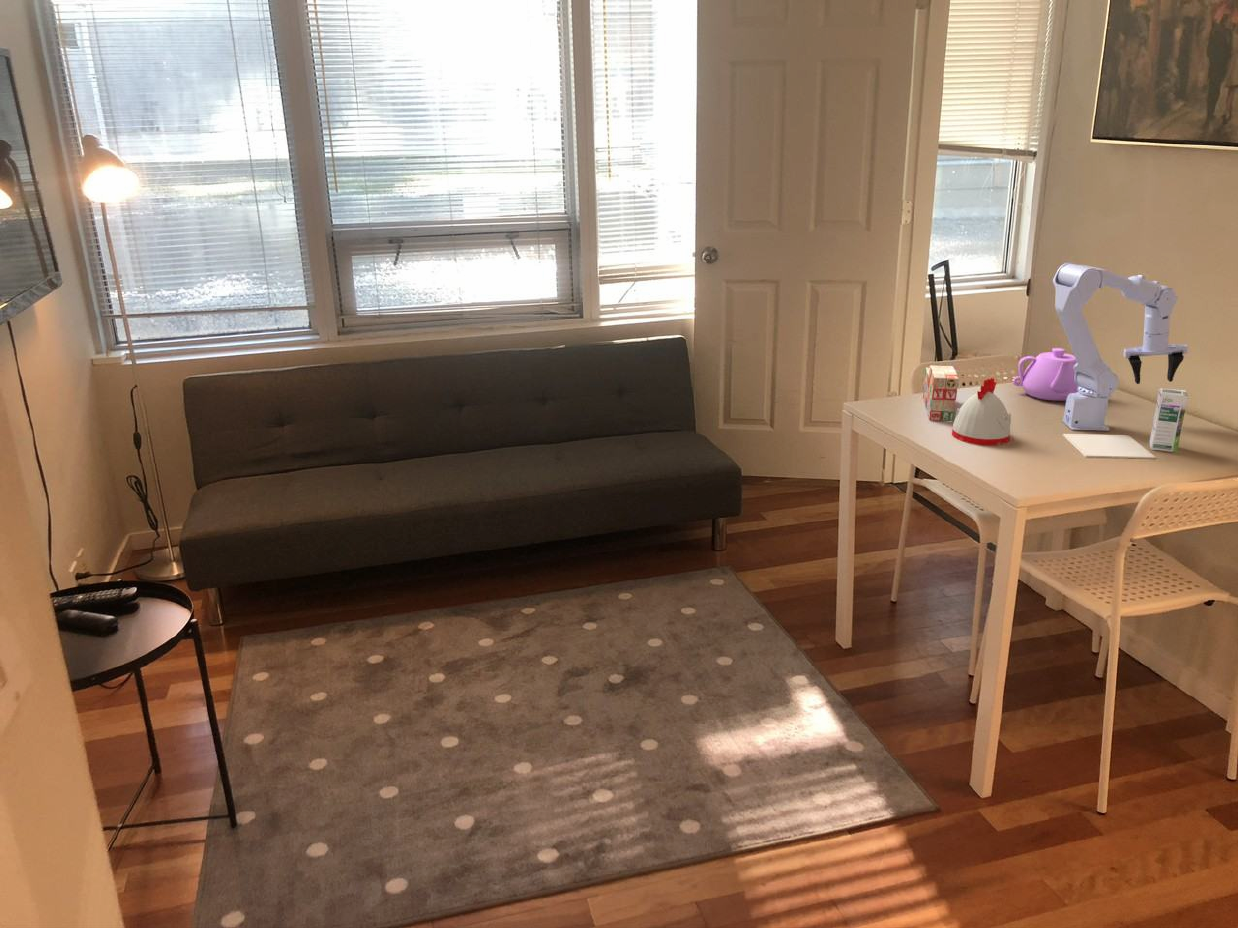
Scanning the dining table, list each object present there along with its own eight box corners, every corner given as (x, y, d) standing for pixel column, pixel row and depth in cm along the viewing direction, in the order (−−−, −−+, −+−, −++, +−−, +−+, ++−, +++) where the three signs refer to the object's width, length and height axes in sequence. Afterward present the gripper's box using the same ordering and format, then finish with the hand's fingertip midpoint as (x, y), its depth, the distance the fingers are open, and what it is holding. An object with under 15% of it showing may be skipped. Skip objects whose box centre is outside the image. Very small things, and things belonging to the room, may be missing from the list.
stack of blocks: (922, 398, 279) (926, 356, 275) (944, 399, 278) (949, 357, 274) (929, 421, 260) (934, 376, 255) (953, 422, 259) (959, 377, 254)
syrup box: (1150, 450, 237) (1161, 393, 232) (1148, 442, 242) (1159, 386, 237) (1176, 453, 235) (1188, 395, 230) (1174, 445, 240) (1186, 389, 235)
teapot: (1018, 406, 271) (1025, 358, 266) (1007, 385, 291) (1013, 340, 286) (1103, 411, 266) (1112, 362, 262) (1086, 389, 286) (1093, 343, 281)
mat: (1085, 457, 233) (1085, 455, 233) (1062, 435, 248) (1063, 433, 248) (1155, 458, 232) (1155, 457, 231) (1128, 436, 246) (1128, 435, 246)
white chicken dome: (1018, 436, 248) (1027, 379, 242) (993, 449, 239) (1001, 390, 233) (967, 424, 257) (974, 369, 252) (941, 436, 248) (948, 379, 243)
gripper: (1183, 324, 251) (1180, 374, 256) (1121, 329, 255) (1119, 378, 260) (1191, 332, 245) (1188, 383, 250) (1128, 337, 249) (1125, 387, 254)
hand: (1153, 381), depth 255 cm, fingers open, 7 cm apart
